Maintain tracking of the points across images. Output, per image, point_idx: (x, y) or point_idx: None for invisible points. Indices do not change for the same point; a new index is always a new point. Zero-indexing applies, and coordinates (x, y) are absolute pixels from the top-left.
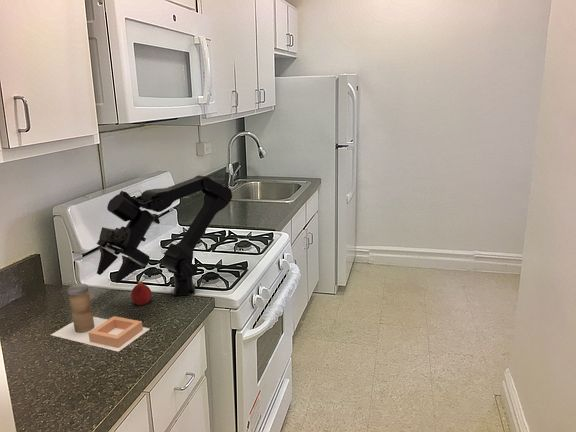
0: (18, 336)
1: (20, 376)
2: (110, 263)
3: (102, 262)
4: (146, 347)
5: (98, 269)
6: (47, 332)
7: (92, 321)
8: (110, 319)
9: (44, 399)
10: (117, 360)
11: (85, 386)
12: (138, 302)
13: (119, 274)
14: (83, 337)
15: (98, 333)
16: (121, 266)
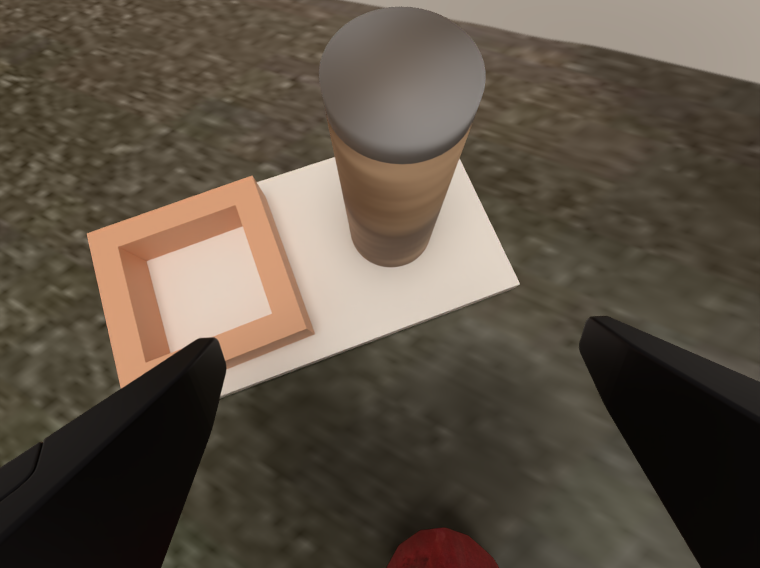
0: (549, 70)
1: (277, 5)
2: (710, 560)
3: (721, 418)
4: (62, 344)
5: (629, 335)
6: (504, 143)
7: (357, 241)
8: (285, 299)
9: (107, 10)
10: (89, 224)
11: (56, 97)
12: (401, 543)
13: (114, 401)
14: (316, 193)
15: (206, 200)
16: (16, 500)
